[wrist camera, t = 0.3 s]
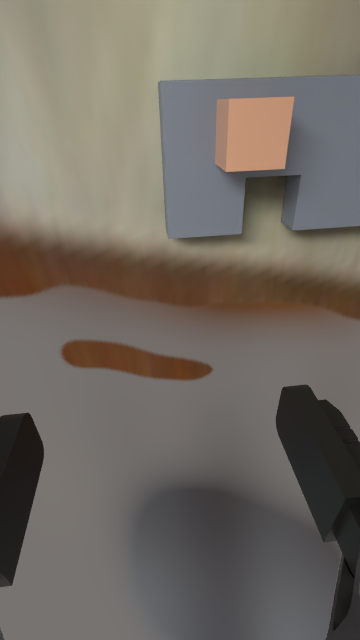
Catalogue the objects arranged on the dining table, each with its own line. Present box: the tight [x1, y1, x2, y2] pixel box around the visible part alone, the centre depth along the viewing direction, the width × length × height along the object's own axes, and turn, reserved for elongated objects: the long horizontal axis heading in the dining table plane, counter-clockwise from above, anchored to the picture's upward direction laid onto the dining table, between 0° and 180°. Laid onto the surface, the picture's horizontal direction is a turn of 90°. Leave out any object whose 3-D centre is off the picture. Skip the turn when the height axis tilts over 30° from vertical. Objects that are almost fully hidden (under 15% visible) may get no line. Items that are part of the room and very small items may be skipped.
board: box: [158, 75, 360, 239], centre depth 29 cm, size 12×32×5 cm, turn 91°
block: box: [215, 97, 294, 172], centre depth 25 cm, size 4×4×4 cm
